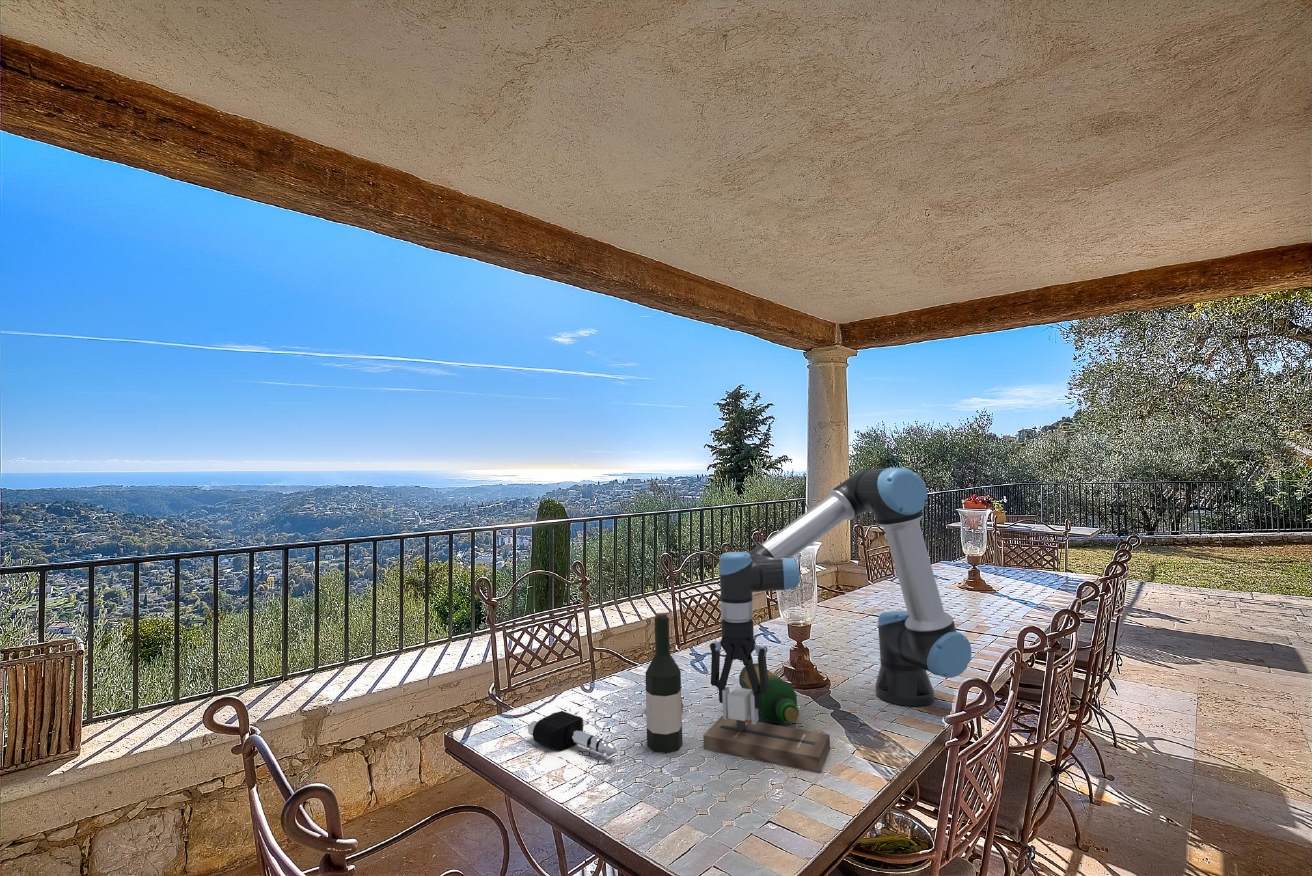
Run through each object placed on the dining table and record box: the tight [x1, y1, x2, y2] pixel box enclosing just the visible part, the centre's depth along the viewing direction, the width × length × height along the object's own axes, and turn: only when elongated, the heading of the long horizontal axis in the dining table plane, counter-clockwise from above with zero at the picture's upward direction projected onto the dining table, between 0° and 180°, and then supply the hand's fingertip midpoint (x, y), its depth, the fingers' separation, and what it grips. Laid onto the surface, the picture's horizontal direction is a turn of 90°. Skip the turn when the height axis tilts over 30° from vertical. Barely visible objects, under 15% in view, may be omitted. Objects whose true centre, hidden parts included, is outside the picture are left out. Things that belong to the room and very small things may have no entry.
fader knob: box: [727, 687, 752, 731], centre depth 132 cm, size 4×6×8 cm, turn 153°
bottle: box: [738, 662, 800, 724], centre depth 148 cm, size 11×11×28 cm
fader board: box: [703, 715, 831, 773], centre depth 129 cm, size 26×12×3 cm, turn 63°
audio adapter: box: [527, 710, 617, 757], centre depth 132 cm, size 11×5×25 cm
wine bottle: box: [645, 612, 684, 754], centre depth 133 cm, size 8×8×30 cm
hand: (740, 719), depth 132 cm, fingers open, 6 cm apart
